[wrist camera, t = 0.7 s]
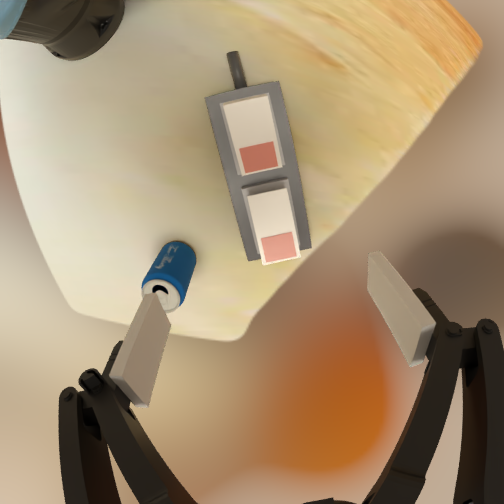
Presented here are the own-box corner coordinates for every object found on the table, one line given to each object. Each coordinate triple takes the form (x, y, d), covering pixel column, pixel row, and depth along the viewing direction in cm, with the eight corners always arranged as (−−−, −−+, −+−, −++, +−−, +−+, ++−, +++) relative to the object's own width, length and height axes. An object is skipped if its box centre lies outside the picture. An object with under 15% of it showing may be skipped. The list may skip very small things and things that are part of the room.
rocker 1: (223, 103, 29) (222, 105, 27) (265, 93, 28) (267, 95, 26) (241, 169, 34) (241, 176, 32) (279, 160, 34) (282, 167, 32)
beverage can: (195, 239, 45) (179, 277, 34) (198, 272, 48) (186, 316, 37) (158, 240, 45) (134, 277, 34) (164, 272, 48) (144, 314, 37)
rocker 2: (248, 195, 36) (246, 196, 33) (285, 187, 35) (286, 188, 33) (262, 260, 38) (262, 265, 35) (298, 252, 38) (300, 257, 35)
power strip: (199, 64, 33) (193, 57, 28) (266, 49, 32) (269, 40, 27) (248, 249, 46) (248, 265, 42) (306, 237, 45) (313, 251, 41)
